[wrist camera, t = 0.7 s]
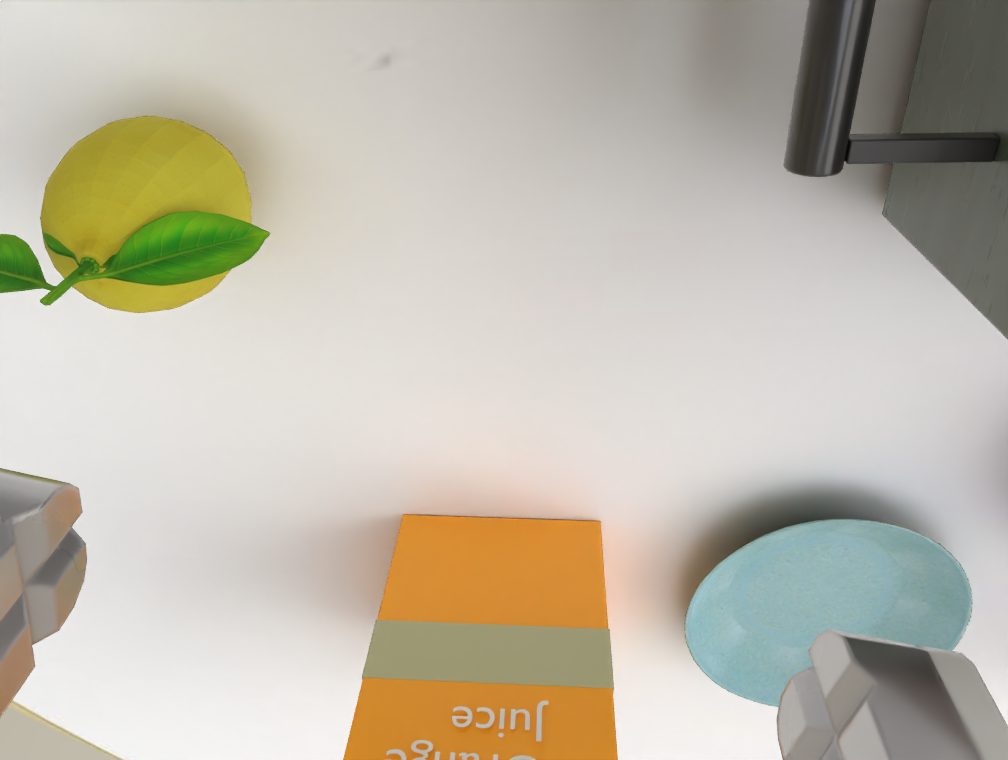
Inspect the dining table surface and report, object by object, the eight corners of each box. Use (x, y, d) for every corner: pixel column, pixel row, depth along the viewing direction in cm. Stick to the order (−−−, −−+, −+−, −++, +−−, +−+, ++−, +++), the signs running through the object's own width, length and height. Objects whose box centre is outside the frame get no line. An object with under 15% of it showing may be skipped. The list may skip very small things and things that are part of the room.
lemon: (74, 188, 28) (-135, 319, 19) (138, 44, 25) (-73, 122, 17) (246, 293, 30) (122, 455, 21) (321, 169, 27) (215, 297, 19)
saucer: (866, 693, 40) (882, 734, 38) (641, 641, 38) (645, 681, 37) (1005, 522, 33) (1033, 560, 32) (742, 454, 32) (754, 490, 30)
